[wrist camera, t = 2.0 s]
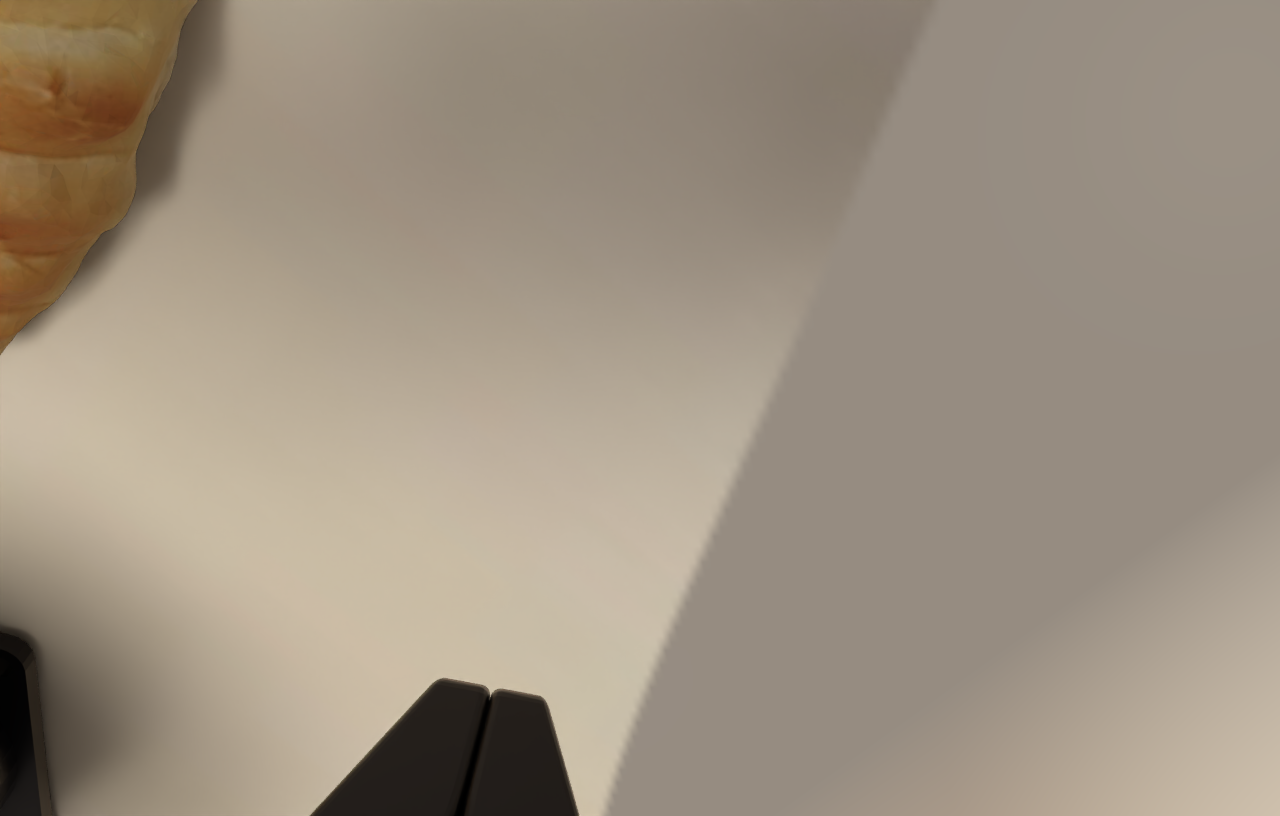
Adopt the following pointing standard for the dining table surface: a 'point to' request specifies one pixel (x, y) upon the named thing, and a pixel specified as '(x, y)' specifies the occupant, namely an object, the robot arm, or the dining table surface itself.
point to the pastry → (71, 133)
